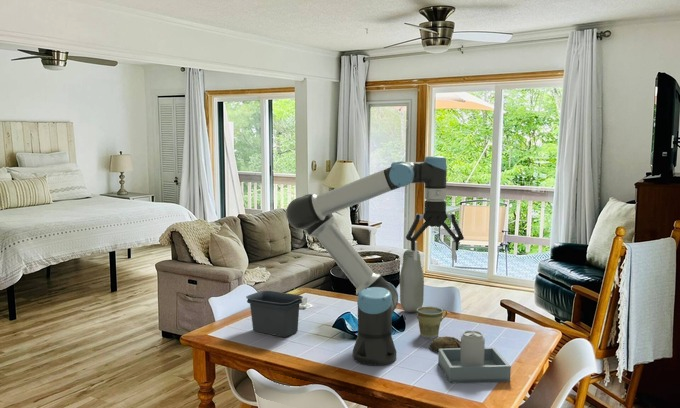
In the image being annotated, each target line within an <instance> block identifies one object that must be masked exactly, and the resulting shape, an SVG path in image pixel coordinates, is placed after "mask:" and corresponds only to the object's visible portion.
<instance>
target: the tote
mask: <svg viewBox="0 0 680 408" xmlns="http://www.w3.org/2000/svg"><path fill="white" fill-rule="evenodd" d="M437 353H438V358H437V359H438V361H437V362H438V365H439V367H440V369H441V370H442V373H443V374H444V376H445V378H447V381H448V383H449V384H466V383H467V384H470V383H472V384H475V383H511V371H512V370H511V369H512V368H511V367H512V366H511V365H510V364H509V362H507V360H506V359H505V358H504V357H503V356H502V355H501V354H500V353H499V351H498V349H496V348H495V347H485V349H484V366H460V355H461V348H447V349H439V350H438V352H437Z"/></svg>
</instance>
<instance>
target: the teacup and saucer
mask: <svg viewBox="0 0 680 408" xmlns="http://www.w3.org/2000/svg"><path fill="white" fill-rule="evenodd" d="M301 300H302V303H301V304H299V309H310V308H312V307H313V304H311V303H308V297H305V296H303V298H302V299H301ZM307 305H308V306H307Z"/></svg>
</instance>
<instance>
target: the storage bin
mask: <svg viewBox="0 0 680 408" xmlns="http://www.w3.org/2000/svg"><path fill="white" fill-rule="evenodd" d="M303 297H304V296H302V295H299V294H293V293H287V292H286V293H285V292H280V291H273V290H260V291H257V292H255V293H251V294H249V295H246V296H245V298H246V299H247V301H246V302H247V304H249V307H250V313H251V314H250V316H251V324H252V330H253V331H254V332H257V333H262V334H268V335H273V336H277V337H283V338H287V337H289V336H291V335H293V334H295V333H297V332H298V330H299V315H300V308H299V304H301V303H302V300H301V299H302V298H303Z"/></svg>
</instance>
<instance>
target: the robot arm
mask: <svg viewBox="0 0 680 408" xmlns="http://www.w3.org/2000/svg"><path fill="white" fill-rule="evenodd" d="M447 164H448V163H447V158H446V157H445V156H441V155H440V156H439V155H438V156H437V155H436V156H435V155H433V156H428V155H427V156H425V157H424V161H417V162H416V161H393V162H392V163H391V165H390V166H389V167H388V168H385V169H382V170H379V171H377V172H374V173H372V174H369V175H367V176H364V177H362V178H359V179H357V180H354V181H352V182H349V183H347V184H344V185H342V186H339V187H336V188H334V189H331V190H329V191H326V192H324V193H321V194H319V195H317V194H315V193H314V194H313V193H312V194H311V193H310V194H304V195H303V196H299V197H297V198H295V199H293V200H291V201H290V203H289V204H288V205H287V207H286V211H285V212H286V213H285V215H286V221H287V222H288V223H289V224H290V226H291V227H293V228H294V229H296V230H301V231H302V230H305V232H306V233H307V235H308V236H309V237H313V238H315V239H317V240H318V242H319V244H321V246H322V247H323V248H324V250H326V252H327V253H328V254H329V255H330V257H331V258H332V259H333V261H334V262H335V263H336V265H337V266H338V267H339V268H340V269H341V271H342V272H343V273H344V274H345V276H346V277H347V279H349V281H350V282H351V284H353V286H354V287H355V288H356V289H355V291H356V292H355V295H356V296H357V301H356V302H357V337H356V339H355V342H354V346H353V349H352V360H354V361H355V362H356V363H359V364H361V365H364V366H365V365H366V366H377V367H378V366H386V365H389V364H392V363H394V362H395V361H396V360H397V349H396V346H395V343H394V339H393V338H392V337H393V336H392V322H393V321H392V316H393V313H394V311H395V310H396V308H397V307H398V304H399V293H398V290H397V289H396V287H395V286H394V284H392V283H391V282H388V281H387V280H386V279H385V278H384V277H383V276H382V274H380V273H374V271H373V270H372V268H370V266H369V264H367V263H366V261H365V260H364V258H363V257H362V256H361V255H360V254H359V253H358V251H357V250H356V249H355V247H354V246H353V245H352V243H351V242H350V241H349V240H348V239H347V238H346V236H345V235H344V233H343V232H342V231H341V230H340V229H339V228H338V226H337V225H336V223H335V215H334V214H335V213H337V212H339V211H341V210H345V209H348V208H351V207H353V206H355V205H358V204H361V203H363V202H365V201H368V200H371V199H373V198H376V197H379V196H381V195H384V194H386V193H389V192H391V191H393V190H397V189H400V188H403V187H406V186H409V185H410V184H424V202H423V203H424V205H423V206H424V207H423V208H424V212H423V214H419V213H415V215H414V220H413V222H412V224H411V226H410V227H409V230H408V232H407V233H406V236H405V239H406V240H407V241H409V242H410V249H411V250H412V251H414V260H417V250H418V241H417V240H418V239H419V237H420V236H421V235H422V234H423V232H424V231H425V230H426V229H427V228H428V227H431V228H433V227H441V226H442V227H443V228H444V230H445V231H446V232H447V233H448V234H449V235H450V237H451V238H452V239H453V240H451V260H453V261H456V251H458V250H459V242H461V241H462V240H463V241H464V240H465V238H464V235H463V233H462V231H461V229H460V226H459V225H458V223H457V221H456V215H455V214H454V213H452V212H451V213H449V214H447V201H445V200H447V175H448V174H447V173H448V171H447V170H448V167H447V166H448V165H447ZM422 219H423V220H424V222H423V224H422V225H421V226H420V227H419V228H418V230H417V231H416V229H417V226H418V224H419V222H420V221H422ZM447 219H448V220H449V221H450V222H451V224H452V226H453V228H454V230H455V233H456V234H455V233H454V232H453V230H452V229H451V228H450V227H449V225H448V224H447V223H446V222H445V221H446V220H447ZM415 231H416V232H415Z"/></svg>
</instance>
